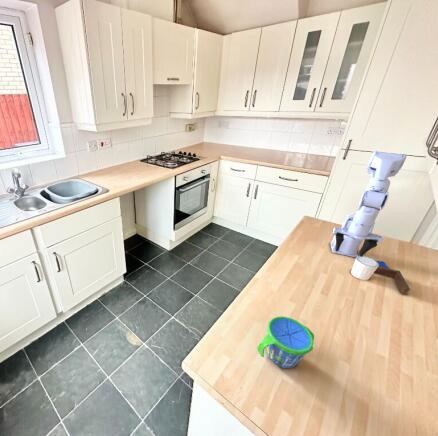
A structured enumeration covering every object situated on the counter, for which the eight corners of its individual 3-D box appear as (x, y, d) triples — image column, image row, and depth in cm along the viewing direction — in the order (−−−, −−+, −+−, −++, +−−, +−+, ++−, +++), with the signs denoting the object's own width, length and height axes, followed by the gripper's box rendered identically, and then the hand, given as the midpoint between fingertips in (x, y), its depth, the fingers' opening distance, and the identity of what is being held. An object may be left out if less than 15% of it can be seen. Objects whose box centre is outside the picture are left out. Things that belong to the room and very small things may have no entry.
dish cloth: (366, 269, 99) (367, 267, 99) (360, 259, 105) (360, 257, 104) (390, 273, 97) (391, 271, 96) (383, 263, 102) (383, 261, 102)
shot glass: (363, 269, 99) (370, 256, 95) (375, 281, 93) (383, 267, 89) (345, 268, 99) (352, 255, 96) (356, 280, 93) (364, 266, 90)
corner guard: (378, 288, 90) (382, 282, 88) (371, 270, 98) (374, 265, 97) (405, 295, 87) (410, 289, 85) (396, 276, 95) (399, 270, 93)
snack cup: (264, 378, 63) (273, 355, 58) (245, 341, 72) (252, 318, 67) (320, 372, 64) (333, 348, 59) (295, 336, 73) (304, 313, 68)
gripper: (340, 223, 88) (327, 253, 95) (391, 232, 83) (374, 263, 89) (337, 215, 94) (325, 243, 100) (385, 223, 88) (369, 253, 95)
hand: (348, 252), depth 95 cm, fingers open, 7 cm apart
